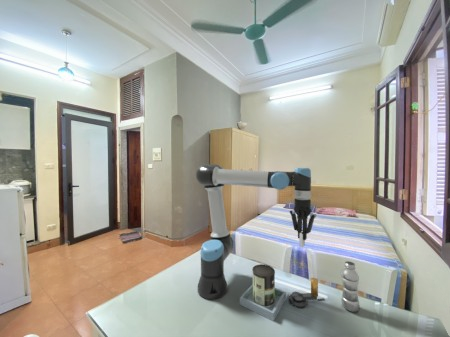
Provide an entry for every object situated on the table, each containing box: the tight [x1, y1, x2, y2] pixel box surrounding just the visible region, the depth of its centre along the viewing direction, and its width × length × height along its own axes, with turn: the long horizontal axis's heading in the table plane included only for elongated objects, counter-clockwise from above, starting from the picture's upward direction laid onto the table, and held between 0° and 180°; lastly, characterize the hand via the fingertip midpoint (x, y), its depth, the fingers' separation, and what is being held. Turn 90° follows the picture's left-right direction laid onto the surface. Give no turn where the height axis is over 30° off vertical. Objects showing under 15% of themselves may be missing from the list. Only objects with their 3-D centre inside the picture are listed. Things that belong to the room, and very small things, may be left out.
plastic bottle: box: [340, 260, 360, 313], centre depth 82 cm, size 6×7×20 cm
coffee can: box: [251, 263, 276, 308], centre depth 87 cm, size 10×10×14 cm
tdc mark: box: [316, 297, 326, 301], centre depth 88 cm, size 4×1×1 cm, turn 96°
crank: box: [291, 277, 319, 302], centre depth 87 cm, size 12×5×8 cm, turn 92°
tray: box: [239, 283, 287, 322], centre depth 87 cm, size 16×16×3 cm
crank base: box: [288, 293, 308, 309], centre depth 87 cm, size 8×8×1 cm
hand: (302, 245), depth 94 cm, fingers closed
